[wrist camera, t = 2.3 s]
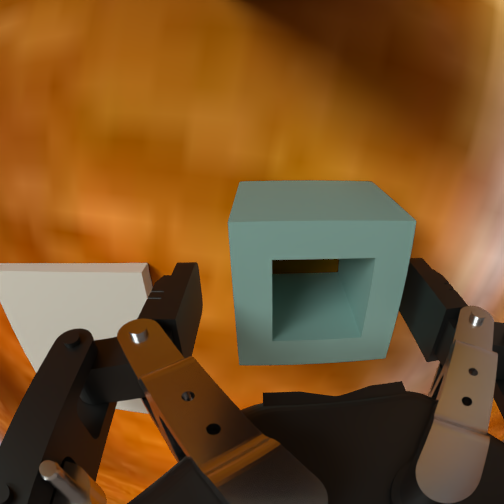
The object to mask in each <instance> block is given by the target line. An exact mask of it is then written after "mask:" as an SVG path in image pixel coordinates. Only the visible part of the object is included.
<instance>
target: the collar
mask: <svg viewBox="0 0 504 504" xmlns="http://www.w3.org/2000/svg"><path fill="white" fill-rule="evenodd" d="M415 227H416V220H415V219H414V218H413V217H411V216H410V215H409V214H408V213H407V212H406V211H405V210H404V209H403V208H402V207H400V206H399V205H398V204H397V203H396V202H395V201H394V200H393V199H391V198H390V197H389V196H388V195H387V194H386V193H384V192H383V191H382V190H381V189H380V188H379V187H377V186H376V185H375V184H374V183H373V182H368V181H246V182H240V183H239V186H238V190H237V193H236V196H235V200H234V203H233V207H232V210H231V213H230V217H229V220H228V230H229V244H230V258H231V271H232V283H233V296H234V308H235V320H236V332H237V343H238V354H239V365H294V364H318V363H336V362H350V361H362V360H373V359H383V358H385V357H386V354H387V351H388V347H389V344H390V340H391V337H392V333H393V330H394V326H395V322H396V318H397V315H398V311H399V307H400V302H401V298H402V294H403V290H404V285H405V280H406V276H407V271H408V266H409V261H410V256H411V250H412V245H413V239H414V233H415ZM301 259H339V267H338V272H330V273H285V274H272V260H301Z"/></svg>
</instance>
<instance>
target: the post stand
mask: <svg viewBox="0 0 504 504" xmlns="http://www.w3.org/2000/svg"><path fill="white" fill-rule="evenodd" d="M152 288H153V286H152V282H151V277H150V272H149V267H148V263H0V302H1V304H2V306H3V309H4V311H5V313H6V315H7V318H8V320H9V322H10V324H11V326H12V328H13V330H14V332H15V334H16V336H17V338H18V340H19V342H20V344H21V346H22V348H23V350H24V352H25V354H26V355H27V357H28V359H29V361H30V363H31V364H32V366H33V368H34V370H35V371H36V373H37V371H38V370H39V368H40V366H41V364H42V362H43V361H44V359H45V357H46V356H47V354H48V352H49V350H50V349H51V347H52V345H53V344H54V342H55V340H56V339H57V338H58V337H59V336H60V335H61V334H63V333H64V332H66V331H69V330H72V329H77V328H81V329H86V330H88V331H89V332H90V333H91V334H92V336H93V339H94V340H101V339H107V338H113V337H117V333H118V331H119V329H120V328H121V327H122V326H123V325H124V324H126V323H128V322H130V321H132V320H136V319H137V318H138V316H139V314H140V312H141V310H142V308H143V306H144V304H145V302H146V300H147V299H148V296H149V294H150V292H151V290H152ZM115 409H121V410H127V411H134V412H141V413H148V411H147V409H146V408H145V406H144V404H143V402H142V401H141V399H140V398H138V399H132V400H125V401H118V402H117V405H116V408H115ZM148 414H149V413H148Z"/></svg>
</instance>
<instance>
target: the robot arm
mask: <svg viewBox="0 0 504 504" xmlns="http://www.w3.org/2000/svg"><path fill="white" fill-rule="evenodd" d="M202 306H203V302H202V292H201V284H200V276H199V268H198V264H197V263H196V262H192V263H177V264H176V266H175V268H174V271H173V273H172V275H164V276H163V277H162V278H160V279H159V280H158V281H157V282H155V284H154V286H153V288H152V290H151V292H150V294H149V296H148V299H147V300H146V302H145V304H144V306H143V308H142V310H141V312H140V314H139V316H138V318H137V319H136V320H132V321H130V322H128V323H126V324H124V325H123V326H122V327H121V328H120V329H119V331H118V333H117V337H113V338H107V339H101V340H94V339H93V336H92V334H91V333H90V332H89V331H88V330H86V329H81V328H77V329H72V330H69V331H66V332H64V333H63V334H61V335H60V336H59V337H58V338H57V339H56V340H55V342H54V344H53V345H52V347H51V349H50V350H49V352H48V354H47V356H46V357H45V359H44V361H43V362H42V364H41V366H40V368H39V370H38V371H37V373H36V375H35V377H34V379H33V380H32V382H31V384H30V386H29V388H28V390H27V392H26V394H25V396H24V397H23V399H22V401H21V403H20V405H19V407H18V409H17V411H16V413H15V415H14V417H13V419H12V422H11V424H10V426H9V428H8V430H7V432H6V434H5V436H4V439H3V441H2V443H1V445H0V504H107V499H106V495H105V493H104V491H103V490H102V488H101V487H100V486H99V485H98V484H97V483H96V482H95V481H96V477H97V473H98V469H99V465H100V462H101V458H102V454H103V450H104V447H105V443H106V439H107V436H108V432H109V429H110V425H111V422H112V418H113V415H114V412H115V408H116V405H117V402H118V401H125V400H132V399H138V398H140V399H141V401H142V402H143V404H144V406H145V408H146V409H147V411H148V413H149V415H150V416H151V418H152V420H153V421H154V423H155V425H156V426H157V428H158V430H159V431H160V433H161V435H162V436H163V438H164V440H165V441H166V443H167V445H168V447H169V449H170V450H171V452H172V454H173V455H174V457H175V459H176V460H177V462H178V463H177V464H176V465H175V466H174V467H172V468H171V469H170V470H169V471H168V472H166V473H165V474H164V475H163V476H162V477H160V478H159V479H158V480H157V481H155V482H154V483H153V484H152V485H150V486H149V487H148V488H147V489H145V490H144V491H143V492H142V493H140V494H139V495H138V496H136V497H135V498H134V499H133V500H131V501H130V502H129V503H127V504H504V443H503V442H502V441H500V440H498V439H497V438H495V437H494V436H492V435H490V434H489V433H488V425H489V420H490V414H491V409H492V402H493V397H494V400H495V402H496V404H497V406H498V408H499V410H500V412H501V414H502V416H503V419H504V323H499V322H494V319H493V317H492V316H491V314H489V313H488V312H487V311H486V310H484V309H482V308H480V307H476V306H468V305H467V304H466V303H465V301H464V300H463V299H462V298H461V297H460V295H459V294H458V293H457V292H456V291H455V290H454V288H453V287H452V286H451V285H450V284H449V282H448V281H447V280H446V279H445V278H444V277H443V275H441V274H439V273H438V272H436V271H435V270H433V269H431V267H430V266H429V265H428V264H427V263H426V262H425V261H424V259H422V258H410V261H409V266H408V271H407V276H406V280H405V285H404V290H403V294H402V298H401V302H400V307H399V311H400V313H401V315H402V317H403V318H404V320H405V322H406V324H407V326H408V327H409V329H410V331H411V333H412V335H413V337H414V338H415V340H416V342H417V344H418V346H419V348H420V350H421V352H422V353H423V355H424V357H425V359H426V361H427V362H430V361H436V360H439V361H440V364H439V366H438V368H437V371H436V374H435V377H434V380H433V382H432V385H431V388H430V391H429V394H428V396H426V395H423V394H420V393H416V392H410V391H406V390H405V388H404V385H403V383H402V381H401V382H394V383H387V384H380V385H372V386H368V387H365V388H362V389H359V390H357V391H353V392H350V393H347V394H344V395H341V396H329V395H320V394H313V393H306V392H277V393H263V403H261V404H257V405H254V406H250V407H248V408H245V409H243V410H240V409H239V408H238V407H237V406H236V405H235V404H234V403H233V402H232V401H231V400H230V398H229V397H228V396H227V395H226V394H225V393H224V392H223V391H222V390H221V388H220V387H219V386H218V385H217V384H216V383H215V382H214V380H213V379H212V378H211V377H210V376H209V375H208V374H207V372H206V371H205V370H204V369H203V368H202V367H201V365H200V364H199V363H198V362H197V361H196V359H195V358H194V357H192V352H193V348H194V344H195V340H196V335H197V331H198V327H199V323H200V319H201V315H202Z"/></svg>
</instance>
